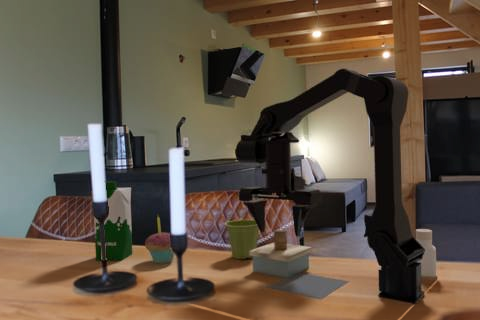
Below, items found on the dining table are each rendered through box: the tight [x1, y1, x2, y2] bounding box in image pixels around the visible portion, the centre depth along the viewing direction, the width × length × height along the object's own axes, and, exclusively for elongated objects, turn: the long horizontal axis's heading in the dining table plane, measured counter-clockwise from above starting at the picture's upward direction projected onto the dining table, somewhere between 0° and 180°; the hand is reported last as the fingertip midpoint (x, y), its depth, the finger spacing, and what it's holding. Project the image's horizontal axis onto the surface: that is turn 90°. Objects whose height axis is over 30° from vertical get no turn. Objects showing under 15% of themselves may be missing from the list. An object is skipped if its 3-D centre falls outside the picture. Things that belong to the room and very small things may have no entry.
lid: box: [249, 229, 313, 262], centre depth 97 cm, size 10×10×5 cm
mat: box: [265, 272, 350, 300], centre depth 87 cm, size 12×12×1 cm
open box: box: [252, 253, 310, 278], centre depth 98 cm, size 9×9×4 cm
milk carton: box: [91, 180, 133, 261], centre depth 115 cm, size 9×9×20 cm
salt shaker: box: [415, 228, 437, 278], centre depth 91 cm, size 4×4×10 cm
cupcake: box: [144, 215, 175, 264], centre depth 110 cm, size 9×8×12 cm
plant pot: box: [224, 219, 260, 260], centre depth 111 cm, size 9×9×9 cm
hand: (279, 234), depth 97 cm, fingers open, 9 cm apart
